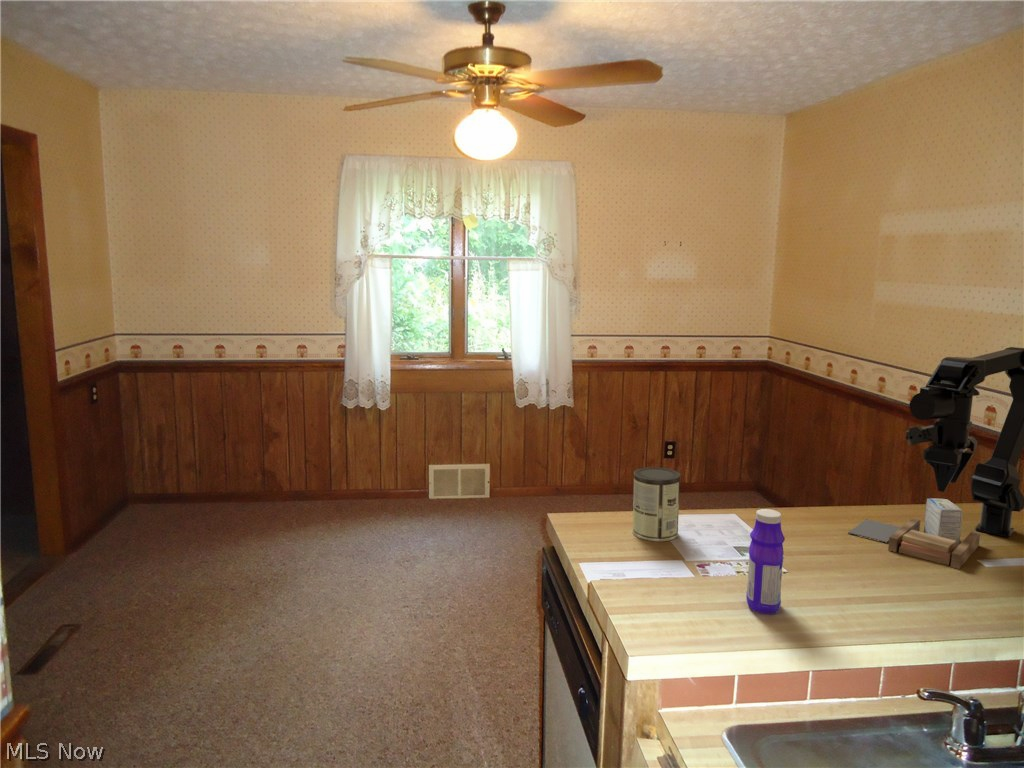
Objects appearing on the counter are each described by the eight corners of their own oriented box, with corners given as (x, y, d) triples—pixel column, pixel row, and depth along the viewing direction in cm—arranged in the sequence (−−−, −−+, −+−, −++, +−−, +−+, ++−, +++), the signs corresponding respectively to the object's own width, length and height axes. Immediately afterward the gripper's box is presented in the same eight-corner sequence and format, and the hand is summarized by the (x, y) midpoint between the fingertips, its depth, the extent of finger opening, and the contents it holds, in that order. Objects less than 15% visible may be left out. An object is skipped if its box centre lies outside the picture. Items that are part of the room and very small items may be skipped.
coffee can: (641, 522, 162) (643, 464, 159) (684, 530, 156) (686, 471, 154) (624, 535, 153) (626, 475, 151) (668, 545, 147) (671, 482, 145)
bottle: (782, 618, 116) (788, 521, 113) (747, 614, 118) (752, 517, 115) (777, 599, 123) (784, 507, 120) (744, 595, 124) (750, 504, 122)
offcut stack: (907, 544, 148) (908, 528, 148) (956, 557, 142) (958, 540, 141) (898, 553, 144) (899, 536, 143) (948, 566, 137) (950, 549, 137)
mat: (866, 520, 163) (866, 519, 163) (903, 529, 157) (903, 527, 157) (848, 533, 154) (848, 532, 154) (886, 543, 149) (886, 541, 149)
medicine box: (959, 549, 146) (964, 510, 145) (936, 547, 147) (940, 509, 145) (944, 535, 154) (948, 498, 152) (922, 534, 154) (926, 497, 153)
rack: (912, 530, 157) (913, 517, 156) (978, 545, 148) (980, 532, 147) (888, 550, 145) (889, 537, 144) (959, 569, 136) (960, 554, 135)
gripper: (924, 405, 158) (917, 470, 160) (899, 417, 145) (892, 487, 147) (981, 412, 150) (973, 481, 153) (960, 425, 137) (952, 499, 140)
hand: (946, 486), depth 148 cm, fingers open, 9 cm apart
